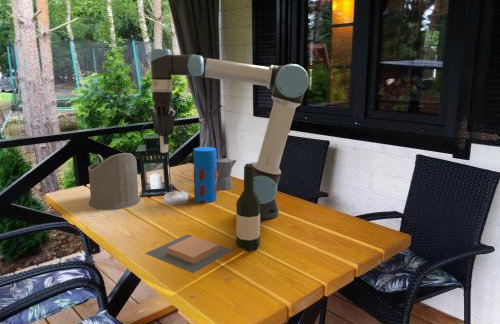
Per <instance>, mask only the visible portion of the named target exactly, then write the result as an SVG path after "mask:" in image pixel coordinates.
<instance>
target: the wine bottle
mask: <svg viewBox="0 0 500 324" xmlns="http://www.w3.org/2000/svg"><path fill="white" fill-rule="evenodd" d="M235 219H236V221H235V222H236V224H235V225H236V227H235V229H236V231H235V232H236V233H235V235H236V236H235V239H236V240H235V242H236V243H235V244H236V246H237V247H238V248H239V249H243V250H244V252H248V253H249V252H253V251H257V250H258V249H259V248H260V244H261V243H260V241H261V239H260V237H261V219H260V200H259V198H258V197H257V195H256V193H255V192H254V166H253V164H250V162H249V163H245V165H244V166H243V191H242V192H241V194H240V196H239V197H238V199H237V200H236V218H235Z"/></svg>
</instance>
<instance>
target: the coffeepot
mask: <svg viewBox="0 0 500 324" xmlns="http://www.w3.org/2000/svg"><path fill="white" fill-rule="evenodd" d="M222 157H223V158H217V165H216V166H217V190H219V191H228V190H232V188H233V187H234V186H233V179H232V175H231V174H232V169H233V166H235V164H236V163H237V160H236V159H231V158H227V157H226V154H223V155H222Z"/></svg>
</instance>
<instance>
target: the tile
mask: <svg viewBox="0 0 500 324" xmlns="http://www.w3.org/2000/svg"><path fill="white" fill-rule="evenodd" d="M218 245H219V244H218V243H214V242H212V241H209V240H205V239H202V238H200V237H197V236H194V235H191V237H189V238H187V239H185V240H183V241H180V242H178V243H176V244H174V245H172V246H169V247H167V253H168V254H169V255H172V256H174V257H177V258H179V259H182V260H184V261H187V262H189V263H192V264H196V263H197V262H199V261H201V260H203V259H205V258H207V257H209V256H210V255H212V254H214V253H216V252H218Z"/></svg>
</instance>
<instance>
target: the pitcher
mask: <svg viewBox="0 0 500 324" xmlns="http://www.w3.org/2000/svg"><path fill="white" fill-rule="evenodd" d="M98 157H99V159H100V160H101V162H98ZM94 162H95V163H94V164H91V165H89V166H88V167H87V168H88V177H89V191H90V193H89V194H90V198H89V201H88V207H90V208H92V209H93V210H100V211H116V210H118V211H119V210H124V209H129V208H132V207H134V206H137V205H138V204H139V203H141V201H142V199H141V197H140V195H139V184H138V183H139V181H138V166H137V165H138V163H137V159H136V157H135V156H134V155H133V154H132V153H127V152H123V153H117V154H113V155H111V156H108V157H107V158H106V159H103V157H102V156H101V155H100V154H99V153H98V154H96V155H95V159H94Z"/></svg>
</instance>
